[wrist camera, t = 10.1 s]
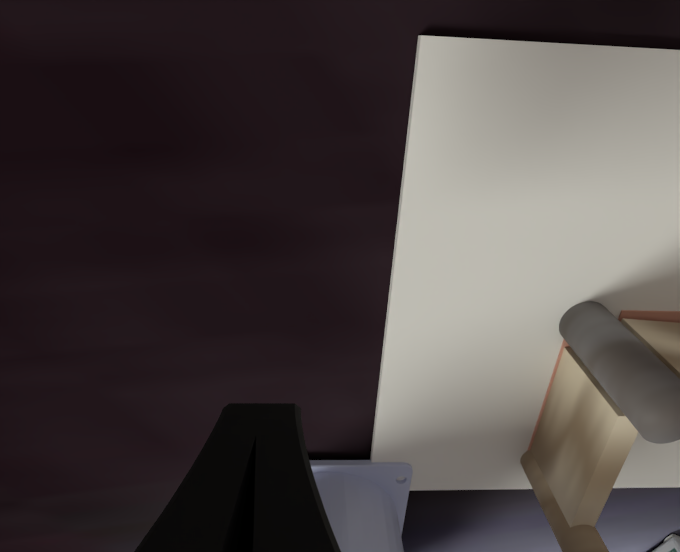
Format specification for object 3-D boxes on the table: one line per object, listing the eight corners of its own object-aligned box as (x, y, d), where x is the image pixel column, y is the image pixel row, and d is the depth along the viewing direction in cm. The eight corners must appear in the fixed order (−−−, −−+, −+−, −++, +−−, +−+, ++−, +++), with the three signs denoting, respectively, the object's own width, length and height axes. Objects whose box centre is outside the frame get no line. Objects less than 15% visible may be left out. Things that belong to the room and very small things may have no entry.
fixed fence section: (552, 469, 23) (614, 583, 19) (512, 469, 23) (564, 585, 19) (614, 301, 19) (716, 395, 14) (566, 300, 19) (652, 394, 14)
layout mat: (743, 480, 25) (750, 487, 25) (367, 483, 24) (368, 492, 23) (1010, 68, 16) (1028, 69, 16) (418, 35, 14) (421, 35, 14)
